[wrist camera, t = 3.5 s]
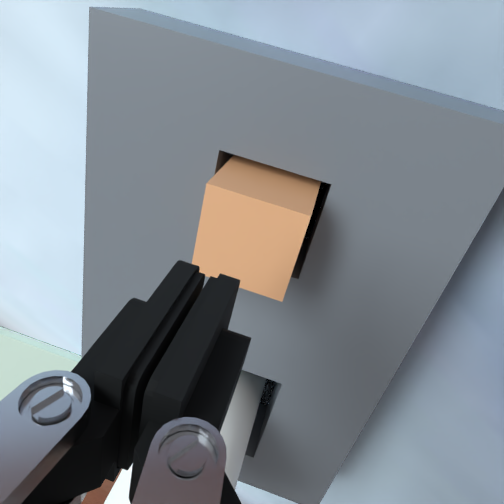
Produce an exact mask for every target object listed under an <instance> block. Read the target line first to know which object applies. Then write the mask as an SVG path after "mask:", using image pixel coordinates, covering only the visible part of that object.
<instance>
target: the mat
mask: <svg viewBox="0 0 504 504" xmlns="http://www.w3.org/2000/svg"><path fill="white" fill-rule="evenodd" d="M81 358H82V356H80V355H77V354H75V353H72V352H69V351H66V350H64V349H61V348H58V347H55V346H53V345H50V344H47V343H44V342H42V341H39V340H36V339H33V338H31V337H28V336H25V335H22V334H20V333H17V332H14V331H11V330H9V329H6V328H3V327H0V401H1V400H2V399H3V398H5V397H6V396H7V395H8V394H9V393H11V392H12V391H13V390H14V389H15V388H16V387H18V386H19V385H20V384H21V383H23V382H24V381H26V380H27V379H29V378H30V377H32V376H34V375H37V374H39V373H42V372H46V371H52V370H63V371H69V372H71V371H72V370H73V369H74V367H75V366H76V365H77V364H78V362H79V361H80V360H81Z"/></svg>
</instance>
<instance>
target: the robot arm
mask: <svg viewBox="0 0 504 504" xmlns="http://www.w3.org/2000/svg"><path fill="white" fill-rule="evenodd" d="M199 270H200V267H199V266H197V265H194V264H191V263H188V262H185V261H182V260H178V261H177V262H176V263H175V265H174V266H173V267H172V269H171V270H170V271H169V273H168V274H167V275H166V277H165V278H164V279H163V281H162V282H161V283H160V285H159V286H158V287H157V289H156V290H155V291H154V293H153V294H152V295H151V297H150V298H149V299H148V301H147V302H146V301H143V300H140V299H137V298H132V299H130V300H129V301H128V302H127V304H126V305H125V306H124V307H123V309H122V310H121V311H120V312H119V313H118V315H117V316H116V317H115V318H114V320H113V321H112V322H111V323H110V324H109V326H108V327H107V328H106V329H105V331H104V332H103V333H102V334H101V335H100V337H99V338H98V339H97V340H96V342H95V343H94V344H93V345H92V346H91V348H90V349H89V350H88V351H87V353H86V354H85V355H84V356H83V358H82V359H81V360H80V361H79V362H78V364H77V365H76V366H75V367H74V369H73V370H72V371H71V372H69V371H63V370H52V371H46V372H42V373H39V374H37V375H34V376H32V377H30V378H29V379H27V380H26V381H24V382H23V383H21V384H20V385H19V386H18V387H16V388H15V389H14V390H13V391H12V392H11V393H9V394H8V395H7V396H6V397H5V398H3V399H2V400H1V401H0V504H81V502H82V501H83V499H84V497H85V495H86V494H87V492H89V491H91V490H94V489H96V488H99V487H101V485H102V483H103V481H104V480H105V479H108V480H110V481H113V482H114V480H115V478H116V476H117V474H118V473H119V471H120V469H121V468H122V469H125V470H129V468H130V467H131V465H132V463H133V465H132V473H131V481H130V489H129V500H130V503H131V504H241V502H240V500H239V498H238V496H237V494H236V492H235V490H234V488H233V486H232V484H231V482H230V481H229V479H228V477H227V475H226V473H225V466H226V459H227V453H226V445H225V442H224V439H223V437H222V435H221V434H220V431H221V428H222V425H223V423H224V420H225V417H226V414H227V411H228V408H229V405H230V403H231V400H232V397H233V394H234V391H235V388H236V385H237V383H238V380H239V377H240V374H241V371H242V367H243V364H244V361H245V358H246V355H247V352H248V348H249V345H250V342H251V337H248V336H245V335H242V334H239V333H236V332H233V331H230V330H228V327H229V323H230V319H231V316H232V312H233V308H234V304H235V300H236V296H237V293H238V289H239V285H240V280H239V279H236V278H233V277H230V276H227V275H224V274H221V273H220V274H219V276H218V277H217V278H215V277H212V276H210V278H209V279H208V281H207V283H206V284H205V286H204V288H203V285H204V281H205V274H203V273H200V272H199Z"/></svg>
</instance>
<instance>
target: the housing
mask: <svg viewBox="0 0 504 504" xmlns="http://www.w3.org/2000/svg"><path fill="white" fill-rule="evenodd" d="M233 155H237V156H241V157H244V158H247V159H250V160H254V161H257V162H260V163H263V164H267V165H270V166H273V167H276V168H280V169H283V170H286V171H289V172H293V173H296V174H299V175H303V176H306V177H309V178H312V179H316V180H319V181H322V182H325V183H328V186H327V189H326V192H325V195H324V198H323V201H322V203H321V206H320V209H319V212H318V215H317V218H316V221H315V224H314V227H313V229H312V232H311V235H310V238H309V239H307V238H304V239H303V242H302V245H301V248H300V251H299V254H298V257H297V260H296V263H295V266H294V269H293V272H292V275H291V277H290V280H289V283H288V286H287V289H286V292H285V295H284V298H283V301H282V302H281V301H278V300H275V299H272V298H269V297H266V296H263V295H260V294H257V293H254V292H251V291H248V290H245V289H242V288H239V289H238V293H237V296H236V300H235V304H234V308H233V312H232V316H231V319H230V323H229V327H228V330H230V331H233V332H236V333H239V334H242V335H245V336H248V337H251V342H250V345H249V348H248V352H247V355H246V358H245V361H244V364H243V367H242V370H244V371H247V372H250V373H252V374H255V375H258V376H261V377H264V378H267V379H269V380H272V381H275V382H276V384H275V386H274V389H273V392H272V394H271V397H270V400H269V402H268V405H264V404H261V403H259V407H258V410H257V414H256V417H255V421H254V424H253V428H252V431H251V435H250V438H249V442H248V445H247V449H246V452H245V456H244V460H243V463H242V467H241V470H240V474H239V477H238V481H241V482H243V483H246V484H249V485H251V486H254V487H257V488H259V489H262V490H265V491H267V492H270V493H272V494H275V495H278V496H280V497H283V498H286V499H288V500H291V501H294V502H296V503H299V504H319V503H320V502H321V500H322V498H323V497H324V495H325V493H326V491H327V490H328V488H329V486H330V485H331V483H332V481H333V479H334V478H335V476H336V474H337V473H338V471H339V469H340V467H341V466H342V464H343V462H344V461H345V459H346V457H347V455H348V454H349V452H350V450H351V449H352V447H353V445H354V443H355V442H356V440H357V438H358V437H359V435H360V433H361V431H362V430H363V428H364V426H365V425H366V423H367V421H368V419H369V418H370V416H371V414H372V413H373V411H374V409H375V407H376V406H377V404H378V402H379V401H380V399H381V397H382V395H383V394H384V392H385V390H386V389H387V387H388V385H389V383H390V382H391V380H392V378H393V377H394V375H395V373H396V371H397V370H398V368H399V366H400V365H401V363H402V361H403V359H404V358H405V356H406V354H407V352H408V351H409V349H410V347H411V346H412V344H413V342H414V340H415V339H416V337H417V335H418V334H419V332H420V330H421V328H422V327H423V325H424V323H425V322H426V320H427V318H428V316H429V315H430V313H431V311H432V310H433V308H434V306H435V304H436V303H437V301H438V299H439V298H440V296H441V294H442V292H443V291H444V289H445V287H446V286H447V284H448V282H449V280H450V279H451V277H452V275H453V274H454V272H455V270H456V268H457V267H458V265H459V263H460V262H461V260H462V258H463V256H464V255H465V253H466V251H467V250H468V248H469V246H470V244H471V243H472V241H473V239H474V238H475V236H476V234H477V232H478V231H479V229H480V227H481V226H482V224H483V222H484V220H485V219H486V217H487V215H488V214H489V212H490V210H491V208H492V207H493V205H494V203H495V202H496V200H497V198H498V196H499V195H500V193H501V191H502V190H503V188H504V111H503V110H499V109H495V108H492V107H488V106H485V105H481V104H478V103H474V102H471V101H467V100H463V99H460V98H456V97H453V96H449V95H446V94H442V93H439V92H435V91H431V90H428V89H424V88H421V87H417V86H414V85H410V84H406V83H403V82H399V81H396V80H392V79H389V78H385V77H382V76H378V75H374V74H371V73H367V72H364V71H360V70H357V69H353V68H350V67H346V66H342V65H339V64H335V63H332V62H328V61H325V60H321V59H317V58H314V57H310V56H307V55H303V54H300V53H296V52H293V51H289V50H285V49H282V48H278V47H275V46H271V45H268V44H264V43H261V42H257V41H253V40H250V39H246V38H243V37H239V36H236V35H232V34H228V33H225V32H221V31H218V30H214V29H211V28H207V27H204V26H200V25H196V24H193V23H189V22H186V21H182V20H179V19H175V18H172V17H168V16H164V15H161V14H157V13H154V12H150V11H147V10H143V9H136V8H108V7H89V47H88V91H87V136H86V180H85V225H84V269H83V314H82V358H83V356H84V355H85V354H86V353H87V351H88V350H89V349H90V348H91V346H92V345H93V344H94V343H95V342H96V340H97V339H98V338H99V337H100V335H101V334H102V333H103V332H104V331H105V329H106V328H107V327H108V326H109V324H110V323H111V322H112V321H113V320H114V318H115V317H116V316H117V315H118V313H119V312H120V311H121V310H122V309H123V307H124V306H125V305H126V304H127V302H128V301H129V300H130V299H132V298H137V299H140V300H143V301H146V302H147V301H148V299H149V298H150V297H151V295H152V294H153V293H154V291H155V290H156V289H157V287H158V286H159V285H160V283H161V282H162V281H163V279H164V278H165V277H166V275H167V274H168V273H169V271H170V270H171V269H172V267H173V266H174V265H175V263H176V262H177V261H178V260H182V261H185V262H188V263H191V264H192V259H193V254H194V248H195V243H196V237H197V232H198V227H199V221H200V216H201V210H202V205H203V199H204V194H205V188H206V183H207V182H208V181H209V180H210V179H211V178H212V177H213V176H214V175H215V174H216V173H217V172H218V171H219V170H220V169H221V168H222V167H223V166H224V165H225V164H226V163H227V162H228V161H229V160H230V159H231V158H232V157H233ZM209 278H210V277H207V276H205V281H204V285H203V288H204V286H205V284H206V283H207V281H208V279H209ZM82 358H81V359H82Z"/></svg>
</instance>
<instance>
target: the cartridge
mask: <svg viewBox="0 0 504 504" xmlns="http://www.w3.org/2000/svg"><path fill="white" fill-rule="evenodd" d="M265 382H266V378H264V377H261V376H258V375H255V374H252V373H250V372H247V371H244V370H242V371H241V374H240V377H239V380H238V383H237V385H236V388H235V391H234V394H233V397H232V400H231V403H230V405H229V408H228V411H227V414H226V417H225V420H224V423H223V425H222V428H221V431H220V434H221V435H222V437H223V439H224V442H225V445H226V453H227V459H226V466H225V473H226V475H227V477H228V479H229V481H230V482H231V484H232V486H233V488H234V490H235V488H236V484H237V481H238V477H239V474H240V470H241V467H242V463H243V460H244V456H245V452H246V449H247V445H248V442H249V438H250V435H251V431H252V428H253V424H254V421H255V417H256V414H257V410H258V407H259V403H260V400H261V396H262V393H263V389H264V386H265ZM132 465H133V463H132ZM132 465H131V467H130V468H129V470H125V469H123V470H122V471H121V473H120V475H119V477H118V479H117V481H116V482H115V484H114V486H113V488H112V490H111V492H110V493H109V495H108V497H107V499H106V501H105V503H104V504H131V503H130V500H129V489H130V481H131V473H132Z"/></svg>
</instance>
